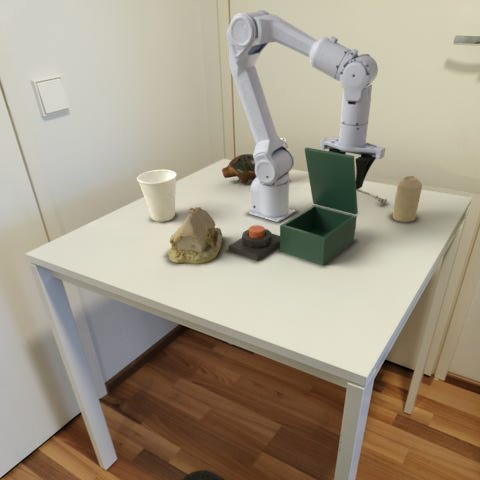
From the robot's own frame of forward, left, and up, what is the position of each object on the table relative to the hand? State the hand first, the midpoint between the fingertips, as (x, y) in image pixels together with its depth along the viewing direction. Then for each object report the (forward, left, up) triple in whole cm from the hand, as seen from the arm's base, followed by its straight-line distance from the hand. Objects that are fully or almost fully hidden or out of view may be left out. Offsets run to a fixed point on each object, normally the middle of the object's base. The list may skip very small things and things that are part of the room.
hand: (347, 185), depth 103 cm
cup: (-42, -21, -11) cm, 48 cm away
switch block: (-11, -20, -10) cm, 25 cm away
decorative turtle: (-40, +12, -6) cm, 42 cm away
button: (-11, -20, -8) cm, 24 cm away
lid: (0, -8, +3) cm, 8 cm away
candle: (+9, +13, -11) cm, 19 cm away
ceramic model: (-22, -29, -11) cm, 38 cm away
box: (0, -12, -10) cm, 16 cm away
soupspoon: (-9, +20, -11) cm, 24 cm away
